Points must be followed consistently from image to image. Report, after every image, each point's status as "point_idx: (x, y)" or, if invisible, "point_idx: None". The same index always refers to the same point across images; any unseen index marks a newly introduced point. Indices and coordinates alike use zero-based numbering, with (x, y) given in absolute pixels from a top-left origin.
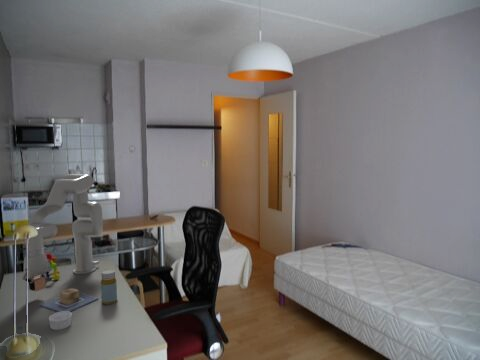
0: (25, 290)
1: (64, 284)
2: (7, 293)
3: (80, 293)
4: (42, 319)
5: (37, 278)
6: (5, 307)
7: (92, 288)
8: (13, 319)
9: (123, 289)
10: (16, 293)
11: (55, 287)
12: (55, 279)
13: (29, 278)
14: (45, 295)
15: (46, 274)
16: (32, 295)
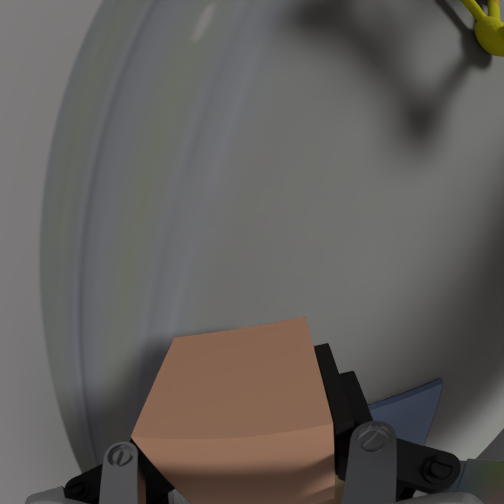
0: (234, 29)
1: (495, 181)
2: (109, 13)
3: (428, 423)
4: (186, 500)
5: (256, 473)
6: (42, 300)
7: (495, 374)
8: (91, 445)
9: (494, 433)
10: (150, 49)
11: (444, 182)
12: (480, 43)
13: (122, 496)
14: (315, 304)
15: (396, 490)
16: (234, 211)
